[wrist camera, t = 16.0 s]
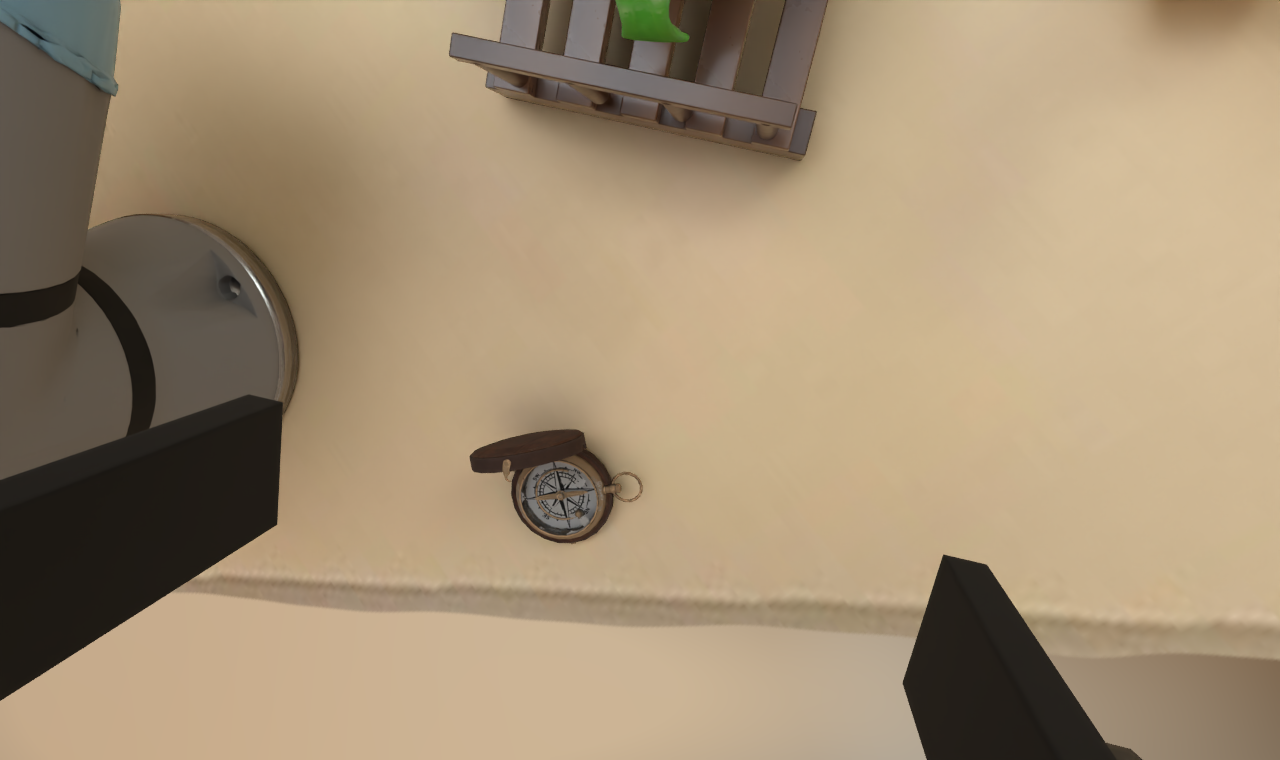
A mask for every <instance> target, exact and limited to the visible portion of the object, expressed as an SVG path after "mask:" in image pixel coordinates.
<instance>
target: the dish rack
mask: <svg viewBox="0 0 1280 760" xmlns="http://www.w3.org/2000/svg"><path fill="white" fill-rule="evenodd" d="M550 1H551V0H506V4H505V11H504V18H503V24H502V31H501V37H500V42H496V41H492V40H487V39H482V38H477V37H472V36H467V35H462V34H458V33H452V37H451V44H450V51H449V56H450V57H452V58H454V59H456V60H458V61H461V62H466V63H471V64H475V65H476V66H478V67H480V68H482V69H484V70H486V71H487V72H488V73H487V79H486V88H488V89H491V90H493V91H495V92H497V93H499V94H501V95H503V96H505V97H507V98H512V99H516V100H521V101H526V102H530V103H535V104H540V105H544V106H549V107H554V108H558V109H563V110H568V111H572V112H577V113H582V114H586V115H591V116H595V117H600V118H605V119H609V120H614V121H619V122H623V123H628V124H633V125H637V126H642V127H647V128H651V129H656V130H661V131H665V132H670V133H674V134H679V135H684V136H688V137H693V138H698V139H702V140H707V141H712V142H716V143H721V144H726V145H730V146H735V147H740V148H744V149H749V150H753V151H758V152H763V153H767V154H772V155H777V156H781V157H786V158H791V159H795V160H800V161H801V160H802V159H803V157H804V156H805V154H806V150H807V147H808V143H809V139H810V135H811V132H812V128H813V124H814V120H815V117H816V111H812V110H807V109H803V108H800V107H801V103H802V99H803V95H804V91H805V87H806V84H807V80H808V76H809V72H810V68H811V64H812V60H813V57H814V53H815V49H816V45H817V41H818V37H819V34H820V30H821V26H822V22H823V18H824V14H825V11H826V7H827V3H828V0H785V4H784V8H783V12H782V16H781V20H780V24H779V28H778V32H777V36H776V41H775V45H774V49H773V53H772V57H771V61H770V65H769V69H768V73H767V77H766V81H765V85H764V89H763V93H762V96H758V95H753V94H748V93H744V92H739V91H734V89H735V84H736V80H737V76H738V72H739V67H740V63H741V59H742V55H743V50H744V46H745V42H746V38H747V34H748V29H749V25H750V21H751V17H752V12H753V8H754V4H755V0H712V4H711V9H710V13H709V18H708V22H707V27H706V31H705V36H704V40H703V45H702V49H701V54H700V58H699V63H698V67H697V72H696V76H695V81H694V82H690V81H685V80H681V79H676V78H671V77H669V73H670V68H671V63H672V59H673V54H674V49H675V45H676V42H649V41H637V40H634V42H633V47H632V52H631V57H630V62H629V67H628V69H627V68H622V67H618V66H613V65H608V64H605V59H606V54H607V49H608V44H609V38H610V33H611V28H612V22H613V17H614V12H615V7H616V1H615V0H573V3H572V9H571V14H570V20H569V26H568V31H567V37H566V43H565V49H564V54H563V55H559V54H555V53H550V52H545V51H542V49H543V43H544V37H545V31H546V25H547V19H548V13H549V7H550ZM684 2H685V0H670V3H669V19H670V21H671V23H672V24H673V25H675V26H676V27H677V28H678V29H679V26H680V21H681V16H682V12H683V7H684Z"/></svg>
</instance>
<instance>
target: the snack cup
mask: <svg viewBox="0 0 1280 760" xmlns="http://www.w3.org/2000/svg"><path fill="white" fill-rule="evenodd" d="M615 1H616V4H617V7H618V11H619V16H620V19H621V23H622V34H621V35H622V37H623V38H625V39H630V40H637V41H649V42H687V41H688V40H689V35H688V34H687V33H684V32H682V31H681V30H680V29H678V28H677V27H676V26H675V25H673V24H672V23H671V21H670V19H669V3H670V0H615Z"/></svg>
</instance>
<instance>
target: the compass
mask: <svg viewBox="0 0 1280 760" xmlns="http://www.w3.org/2000/svg"><path fill="white" fill-rule="evenodd" d="M585 448H586V443H585V437H584V433H583V432H581V431H579V430H569V429H567V430H552V431H543V432H536V433H530V434H525V435H520V436H516V437H512V438H508V439H505V440H501V441H498V442H495V443H492V444H489V445H487V446H484V447H481V448H479V449H477V450H475V451H474V452H473V453H472V454H471V455H470V462H471V467H472V470H473V471H474V472H478V473H498V472H503V474H504V477H505V480H506V481H508V482H511V481H509V480H508V479H507V476H508V475H509V474H510V472H509V471H514V470H516V471H515V474H514V477H513V480H512V491H511V495H512V499H513V503H514V507H515V510H516V511H517V513H518V515H519V517H520V519H521V520H522V522H523V523H524V524H525V525H526V526H527V527H528V528H529V529H530V530H531V531H532V532H534V533H536V534H537V535H539V536H541V537H542V538H544V539H547V540H550V541H554V542H557V543H571V544H575V543H576V542H578V541H582V540H586V539H587V538H589V537H591V536H592V535H594V534H595V533H597V532H598V531H599V530H600V528H601V527H602V526H603V525H604V524H605V523H606V521H607V519H608V516H609V514H610V512H611V509H612V507H613V497H614V495H615V496H616V497H617V498H618V499H619V500H621V501H623V502H632V501H635V500H637V499H638V498H639V497H640V495H641V493H642V491H643V485H642V483H641V480H640V479H639V478H638V477H637V476H636V475H635V474H633V473H630V472H622V473H619V474H617V475H616V476H615V477H614V478H613V480H612V481H611V478H610V476H609V474H608V472H607V470H606V468H605V467H604V465H603V464H602V463H601V462H600V461H599V460H598V459H597V458H596V457H595V456H594V455H593V454H592V453H590V452H588V451H587V450H585ZM624 474H625V475H631V476H633V477H635V478H636V479H637V480H638V482H639V484H640V492H639V494H638V495H637V496H636V497H635V498H633V499H630V500H629V499H623V498H621V497H619V496H618V495H617V494H616V492H617V493H620V492H621V485H620V484H616V485H615V484H614V482H615V480H616V479H617V478H618V477H619V476H621V475H624Z"/></svg>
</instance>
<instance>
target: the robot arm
mask: <svg viewBox="0 0 1280 760" xmlns="http://www.w3.org/2000/svg"><path fill="white" fill-rule="evenodd" d="M120 12H121V4H120V0H0V701H1V700H2V699H4V698H5V697H7V696H9V695H10V694H11V693H13V692H15V691H16V690H18V689H20V688H21V687H23V686H24V685H26V684H27V683H29V682H31V681H32V680H34V679H35V678H37V677H38V676H40V675H41V674H43V673H45V672H46V671H48V670H49V669H51V668H53V667H54V666H56V665H57V664H59V663H60V662H62V661H63V660H65V659H67V658H68V657H70V656H71V655H73V654H74V653H76V652H78V651H79V650H81V649H82V648H84V647H86V646H87V645H89V644H90V643H92V642H93V641H95V640H96V639H98V638H99V637H101V636H103V635H104V634H106V633H107V632H109V631H111V630H112V629H114V628H115V627H117V626H118V625H120V624H122V623H123V622H125V621H126V620H128V619H129V618H131V617H133V616H134V615H136V614H137V613H139V612H140V611H142V610H143V609H145V608H147V607H148V606H150V605H151V604H153V603H155V602H156V601H158V600H159V599H161V598H162V597H164V596H166V595H167V594H169V593H170V592H172V591H173V590H175V589H177V588H178V587H180V586H181V585H183V584H184V583H186V582H188V581H189V580H191V579H192V578H194V577H195V576H197V575H199V574H200V573H202V572H203V571H205V570H206V569H208V568H210V567H211V566H213V565H214V564H216V563H217V562H219V561H221V560H222V559H224V558H225V557H227V556H228V555H230V554H232V553H233V552H235V551H236V550H238V549H239V548H241V547H243V546H244V545H246V544H247V543H249V542H250V541H252V540H254V539H255V538H257V537H258V536H260V535H261V534H263V533H264V532H266V531H268V530H269V529H271V528H272V527H274V526H275V525H277V517H278V496H279V475H280V453H281V432H282V415H283V413H284V412H285V410H286V408H287V406H288V404H289V401H290V399H291V396H292V393H293V390H294V386H295V382H296V375H297V366H298V350H297V340H296V333H295V328H294V324H293V320H292V317H291V314H290V311H289V308H288V306H287V303H286V301H285V298H284V296H283V294H282V292H281V290H280V288H279V286H278V285H277V283H276V281H275V280H274V278H273V277H272V275H271V274H270V272H269V271H268V270H267V268H266V267H265V266H264V264H263V263H262V262H261V261H260V260H259V259H258V257H257V256H256V255H255V254H254V253H253V252H252V251H251V250H250V249H249V248H247V247H246V246H245V245H244V244H243V243H242V242H240V241H239V240H238V239H237V238H235V237H234V236H232V235H231V234H229V233H228V232H226V231H224V230H223V229H221V228H219V227H217V226H215V225H213V224H210V223H208V222H206V221H203V220H200V219H197V218H193V217H188V216H183V215H173V214H136V215H130V216H124V217H121V218H117V219H114V220H111V221H108V222H105V223H103V224H100V225H98V226H95V227H93V228H90V229H88V225H89V219H90V213H91V207H92V201H93V195H94V189H95V184H96V178H97V172H98V166H99V160H100V154H101V148H102V143H103V137H104V131H105V125H106V119H107V114H108V109H109V103H110V98H111V94H112V95H113V96H116V94H117V91H118V84H117V82H116V81H115V79H114V71H115V61H116V51H117V41H118V31H119V21H120ZM903 685H904V689H905V692H906V695H907V698H908V702H909V705H910V708H911V711H912V714H913V717H914V720H915V724H916V727H917V730H918V733H919V737H920V740H921V743H922V746H923V749H924V752H925V756H926V758H927V760H1142V759H1141V758H1140V757H1139V756H1138V755H1137V754H1136V753H1134V752H1133V751H1132V750H1131V749H1128V748H1124V747H1120V746H1116V745H1112V744H1108V743H1105V741H1104V740H1103V738H1102V737H1101V735H1100V734H1099V732H1098V731H1097V729H1096V728H1095V726H1094V725H1093V723H1092V722H1091V720H1090V719H1089V717H1088V716H1087V714H1086V713H1085V711H1084V710H1083V708H1082V707H1081V705H1080V704H1079V702H1078V701H1077V699H1076V698H1075V696H1074V695H1073V693H1072V692H1071V690H1070V689H1069V688H1068V686H1067V684H1066V683H1065V682H1064V680H1063V678H1062V677H1061V675H1060V674H1059V672H1058V671H1057V669H1056V668H1055V666H1054V665H1053V663H1052V662H1051V660H1050V659H1049V657H1048V656H1047V654H1046V653H1045V651H1044V650H1043V648H1042V647H1041V645H1040V644H1039V642H1038V641H1037V639H1036V638H1035V636H1034V635H1033V633H1032V632H1031V630H1030V629H1029V627H1028V626H1027V624H1026V623H1025V621H1024V620H1023V618H1022V617H1021V615H1020V614H1019V612H1018V611H1017V609H1016V608H1015V606H1014V605H1013V603H1012V602H1011V600H1010V599H1009V597H1008V596H1007V594H1006V593H1005V591H1004V590H1003V588H1002V587H1001V585H1000V584H999V582H998V581H997V579H996V578H995V576H994V575H993V573H992V572H991V570H990V569H989V567H988V566H987V565H986V564H982V563H977V562H973V561H969V560H964V559H960V558H956V557H951V556H947V555H943V557H942V560H941V564H940V567H939V570H938V573H937V576H936V579H935V583H934V586H933V589H932V592H931V595H930V598H929V601H928V605H927V608H926V611H925V614H924V617H923V620H922V623H921V627H920V630H919V633H918V636H917V639H916V642H915V645H914V649H913V652H912V655H911V658H910V661H909V664H908V668H907V671H906V674H905V677H904V680H903Z"/></svg>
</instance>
